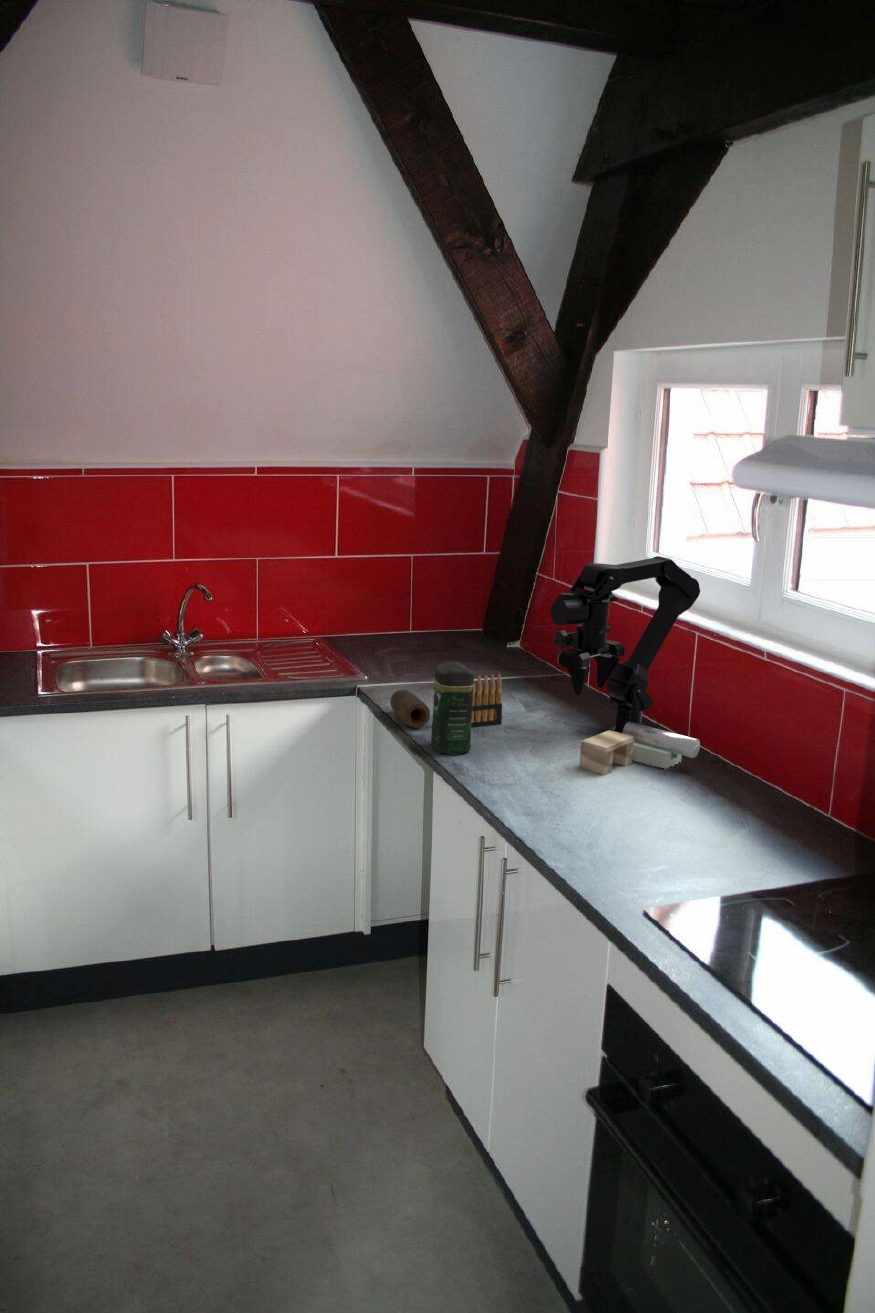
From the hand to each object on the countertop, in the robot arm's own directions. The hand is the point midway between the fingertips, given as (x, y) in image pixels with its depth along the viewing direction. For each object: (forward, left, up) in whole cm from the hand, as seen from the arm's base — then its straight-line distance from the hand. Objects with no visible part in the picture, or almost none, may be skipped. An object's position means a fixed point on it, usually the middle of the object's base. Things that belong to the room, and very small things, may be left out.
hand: (588, 691), depth 244 cm
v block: (+2, +18, -11) cm, 21 cm away
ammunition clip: (+10, -22, -11) cm, 27 cm away
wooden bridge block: (+13, +13, -11) cm, 21 cm away
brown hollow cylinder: (+20, -35, -11) cm, 42 cm away
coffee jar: (+28, -16, -11) cm, 34 cm away
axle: (+2, +19, -8) cm, 21 cm away
